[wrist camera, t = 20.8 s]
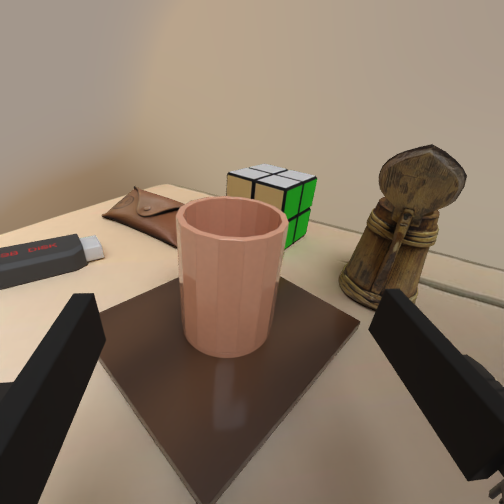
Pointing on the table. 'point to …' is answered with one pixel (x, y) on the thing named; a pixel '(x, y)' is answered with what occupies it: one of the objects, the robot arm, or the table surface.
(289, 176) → the puzzle cube
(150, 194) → the sunglasses case
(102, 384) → the table surface
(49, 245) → the usb drive
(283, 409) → the walnut board
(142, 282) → the table surface
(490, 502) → the table surface
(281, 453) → the table surface
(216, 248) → the cup
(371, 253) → the wooden mug
